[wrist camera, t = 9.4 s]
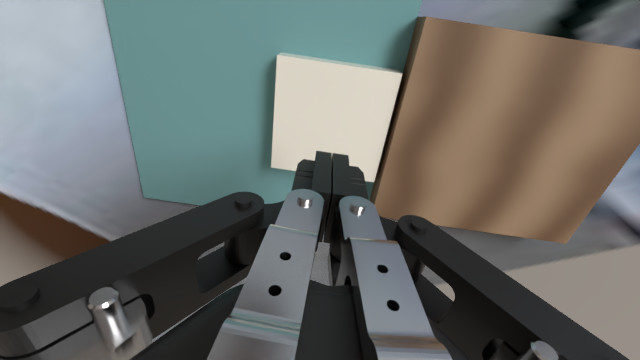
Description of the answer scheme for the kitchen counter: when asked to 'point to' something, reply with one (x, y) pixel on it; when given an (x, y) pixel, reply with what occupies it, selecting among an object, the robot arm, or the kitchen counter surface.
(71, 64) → the kitchen counter surface
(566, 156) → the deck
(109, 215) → the kitchen counter surface
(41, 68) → the kitchen counter surface
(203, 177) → the mat
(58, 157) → the kitchen counter surface
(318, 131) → the tile
